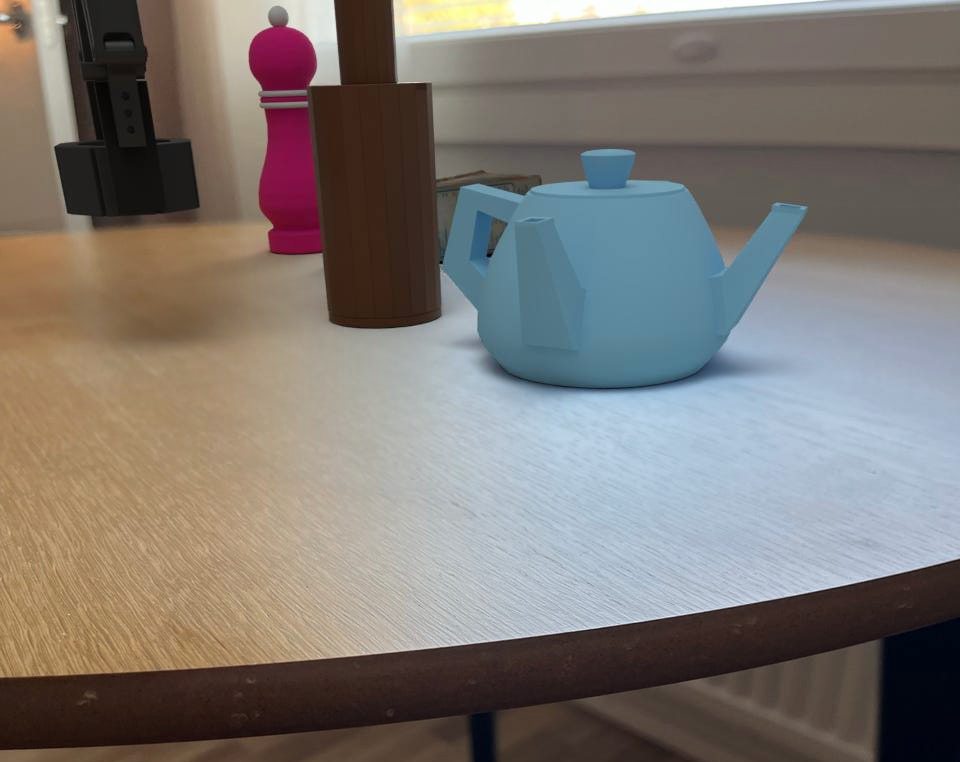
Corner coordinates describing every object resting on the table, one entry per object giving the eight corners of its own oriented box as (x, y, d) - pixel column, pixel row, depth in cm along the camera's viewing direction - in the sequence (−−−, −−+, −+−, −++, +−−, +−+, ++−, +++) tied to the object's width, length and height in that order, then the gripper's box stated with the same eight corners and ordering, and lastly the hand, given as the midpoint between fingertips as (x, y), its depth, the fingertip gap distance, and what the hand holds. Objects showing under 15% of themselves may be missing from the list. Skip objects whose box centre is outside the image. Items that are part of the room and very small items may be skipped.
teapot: (666, 322, 66) (676, 136, 61) (798, 377, 54) (825, 149, 48) (438, 345, 62) (429, 149, 57) (523, 410, 50) (521, 166, 44)
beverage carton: (322, 263, 91) (314, 182, 88) (498, 241, 100) (496, 167, 97) (365, 274, 85) (359, 187, 82) (548, 249, 94) (548, 171, 91)
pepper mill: (305, 257, 94) (279, 1, 85) (248, 252, 98) (217, 6, 88) (355, 246, 99) (336, 4, 90) (299, 241, 103) (275, 9, 93)
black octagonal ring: (41, 212, 61) (27, 145, 59) (139, 198, 66) (129, 137, 65) (130, 219, 57) (118, 148, 56) (226, 204, 63) (217, 139, 61)
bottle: (305, 321, 69) (270, -11, 60) (374, 301, 75) (351, -5, 66) (398, 332, 66) (376, -20, 56) (462, 310, 71) (451, -13, 62)
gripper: (149, -358, 43) (225, 219, 55) (113, -238, 60) (177, 184, 71) (-43, -379, 41) (77, 228, 52) (-25, -247, 58) (63, 190, 69)
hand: (135, 202), depth 62 cm, fingers closed on black octagonal ring, 8 cm apart
